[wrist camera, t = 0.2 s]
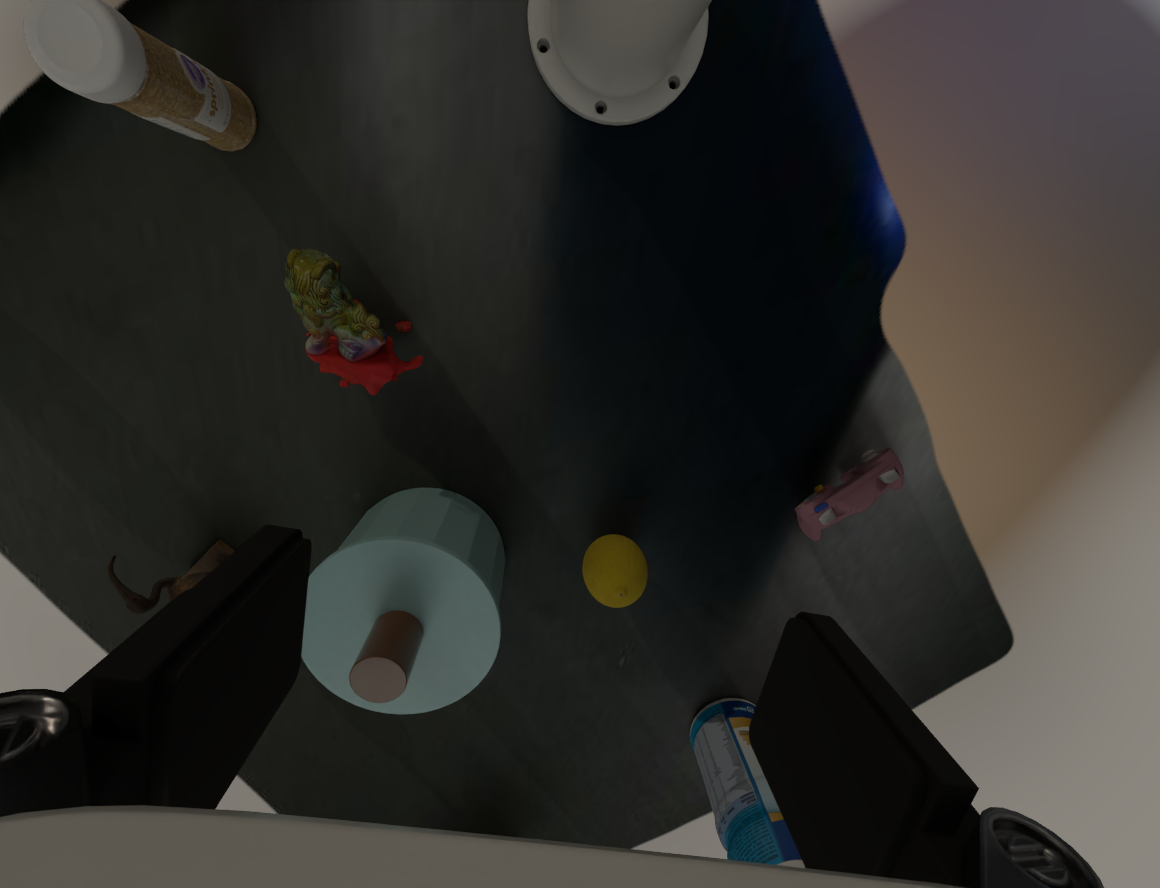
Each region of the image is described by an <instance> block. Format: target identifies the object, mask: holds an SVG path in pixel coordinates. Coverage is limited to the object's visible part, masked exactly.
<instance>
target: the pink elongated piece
mask: <svg viewBox="0 0 1160 888" xmlns="http://www.w3.org/2000/svg"><path fill="white" fill-rule="evenodd" d="M873 451H874V450H867V451H866V452H864V453H863V454H862V455H861V457H860V458H861V459H862V458H864V457H865V459H864V460H863V462H862V463H860V464H858V465H856V466H854V467H852V468H851V469H849V470H847V471H846V472H845V473H843V474H842V475H841V476H840V478H841V480H842V481H843V482H844V483H843V484H841V485H840V486H838V487H836V488H834V487H833V485H832V484H831V483H829V484H827V485H825V486H822V485H818V486H816V487H815V488H814V490H815V492H814V493H812V494H811V495H810V496H809V497H808V498H806V499H805V500H804V501H803V502H802V503H801V504H800V505H798V506H797V507H796V508H795V509H794V510H795V511H796V513H797V520H798V524H799V526H800V528H801V529H802V531H803V532H804V533H805V535H806V536H807V537H809V538H810V539H811V540H813V541H819V540H820V539H821V538H822V530H823V529H825V528H827V527H829V526H831V525H833V524H835V523H837V522H839V521H840V520H842V519H844V518H845V517H847V516H849V515H851V514H856V513H859V512H862V511H864V510H866V509H868V508H869V507H870V506H871V505H872V504H873V503H874V502H875V501H876V500H877V498H878V497H879V496H880V495H881V494H882V493H884V492H885V491H887V490H888V489H890V488H891V489H894V490H898V489H900V488H901V487H902V486H903V474H904V471H903V467H902V465H901V463H900V461H899V460H898V457H897V456H896V454H895V453H894V452H893V451H892V450H891V449H890V448H889V449H886V450H884V451H882V452H879V453H872V452H873ZM871 453H872V454H871Z"/></svg>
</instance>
